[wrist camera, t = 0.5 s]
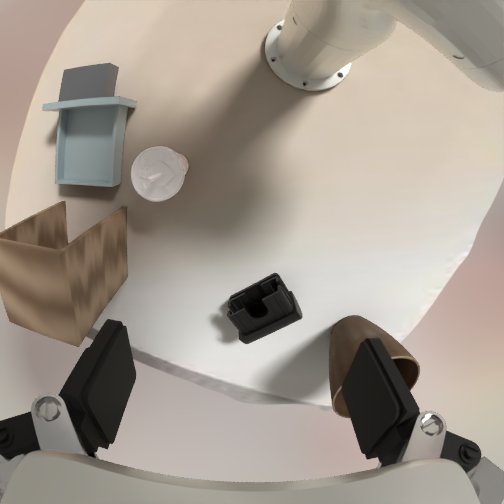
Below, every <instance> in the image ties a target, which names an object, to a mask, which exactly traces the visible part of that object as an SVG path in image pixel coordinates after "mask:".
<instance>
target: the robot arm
mask: <svg viewBox="0 0 504 504" xmlns="http://www.w3.org/2000/svg"><path fill="white" fill-rule="evenodd" d="M397 20H398V21H399V22H401V23H402V24H403V25H405V26H406V27H408V28H409V29H412V30H413V31H414V32H416V33H417V34H418V35H420V36H421V37H422V38H424V39H425V40H426V41H427V42H429V43H430V44H431V45H432V46H434V47H435V48H436V49H437V50H438V51H439V52H441V53H442V54H443V55H444V56H445V57H446V58H447V59H449V60H450V61H451V62H452V63H453V64H454V65H455V66H456V67H458V68H459V69H460V70H461V71H462V72H463V73H464V74H465V75H466V76H467V77H468V78H470V79H471V80H472V81H473V82H475V83H476V84H478V85H479V86H481V87H483V88H485V89H487V90H490V91H494V92H504V0H292V2H291V4H290V7H289V10H288V13H287V15H286V18H285V19H283V20H281V21H280V22H278V23H277V24H275V25H274V26H273V27H272V29H271V30H270V32H269V33H268V35H267V38H266V42H265V55H266V59H267V62H268V64H269V66H270V68H271V69H272V70H273V71H274V73H275V74H276V75H277V76H278V77H279V78H280V79H281V80H283V81H284V82H286V83H288V84H289V85H291V86H294V87H296V88H299V89H303V90H309V91H320V90H325V89H329V88H331V87H333V86H335V85H337V84H338V83H340V82H341V81H342V80H344V79H345V77H346V76H347V74H348V73H349V71H350V68H351V65H352V61H354V60H356V59H357V58H359V57H360V56H362V55H364V54H365V53H367V52H368V51H370V50H372V49H373V48H375V47H377V46H378V45H380V44H381V43H383V42H384V41H385V40H387V39H388V38H389V37H390V36H391V34H392V33H393V31H394V29H395V26H396V23H397ZM277 29H280V30H277ZM271 60H275V62H272V61H271ZM337 75H339V76H340V77H338V76H337ZM303 83H305V86H303ZM135 380H136V370H135V366H134V362H133V357H132V353H131V348H130V343H129V338H128V333H127V328H126V326H123V324H122V322H121V321H115V320H110V319H108V320H107V321H106V322H105V323H104V325H103V326H102V328H101V330H100V331H99V333H98V334H97V336H96V337H95V339H94V341H93V343H92V344H91V346H90V347H89V348H86V349H85V351H84V352H83V354H82V356H81V357H80V359H79V361H78V362H77V364H76V366H75V367H74V369H73V370H72V372H71V374H70V376H69V377H68V379H67V381H66V383H65V384H64V386H63V388H62V390H61V392H60V394H59V395H56V394H52V393H46V394H42V395H40V396H38V397H37V398H36V399H35V400H34V402H33V403H32V406H31V412H28V413H25V414H21V415H18V416H15V417H12V418H8V419H5V420H2V421H0V504H501V503H502V501H503V499H504V471H503V470H501V469H500V468H499V467H497V466H496V465H495V464H493V463H492V462H491V461H490V460H488V459H487V458H486V457H483V458H481V451H480V448H479V446H478V445H477V444H476V443H474V442H472V441H470V440H468V439H465V438H462V437H460V436H458V435H455V434H453V433H451V432H449V431H446V423H445V420H444V419H443V417H442V416H441V415H439V414H438V413H436V412H432V411H425V412H422V413H421V414H420V412H419V407H418V405H417V403H416V402H415V399H414V398H413V396H412V394H411V392H410V390H409V388H408V386H407V385H406V383H405V381H404V379H403V377H402V376H401V374H400V372H399V370H398V369H397V367H396V365H395V363H394V362H393V360H392V358H391V356H390V355H389V353H388V351H387V349H386V348H385V346H384V344H383V343H382V341H381V339H380V338H366V339H365V340H364V341H363V342H361V343H360V345H359V347H358V350H357V352H356V355H355V357H354V359H353V362H352V364H351V366H350V368H349V371H348V373H347V375H346V377H345V379H344V381H343V384H342V388H341V390H342V394H343V397H344V400H345V403H346V406H347V409H348V412H349V415H350V418H351V421H352V424H353V427H354V431H355V434H356V437H357V440H358V443H359V446H360V449H361V452H362V453H363V454H365V455H366V458H367V459H371V458H376V457H378V459H379V464H378V466H377V468H376V469H372V470H367V471H362V472H357V473H351V474H346V475H340V476H334V477H327V478H320V479H310V480H300V481H286V482H224V481H210V480H200V479H191V478H184V477H176V476H170V475H164V474H159V473H154V472H149V471H144V470H140V469H135V468H131V467H127V466H123V465H119V464H115V463H111V462H108V461H104V460H100V459H99V458H98V456H97V454H96V452H97V450H98V447H102V448H105V449H108V447H109V444H110V443H111V444H113V443H114V440H115V437H116V435H117V431H118V428H119V425H120V422H121V419H122V416H123V413H124V411H125V408H126V405H127V402H128V399H129V396H130V393H131V390H132V388H133V385H134V383H135Z"/></svg>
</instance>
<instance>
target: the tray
mask: <svg viewBox="0 0 504 504" xmlns="http://www.w3.org/2000/svg"><path fill="white" fill-rule="evenodd" d="M118 69H119V67H117V66H115V65H113V64H111V63H105V64H97V65H90V66H84V67H77V68H72V69H67V70H64V73H63V78H62V83H61V89H60V95H59V101H58V102H54V103H48V104H43V109H42V111H59V120H58V130H57V142H56V161H55V184H74V185H91V186H105V187H113V186H116V185H118V184H120V183H121V168H122V155H123V144H124V134H125V126H126V118H127V110H128V108H136V103H137V101H134V100H131V99H127V98H124V97H120V96H117V97H113V96H114V90H115V84H116V79H117V74H118Z"/></svg>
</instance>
